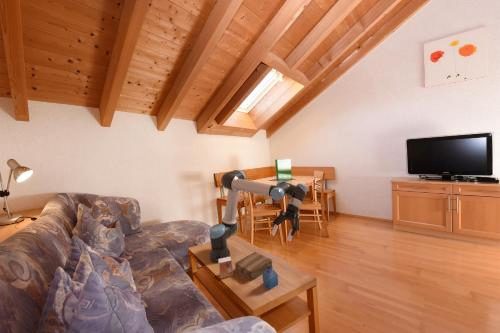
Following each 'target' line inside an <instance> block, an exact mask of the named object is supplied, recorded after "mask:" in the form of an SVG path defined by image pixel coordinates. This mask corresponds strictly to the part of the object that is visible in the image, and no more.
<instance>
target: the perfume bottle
mask: <svg viewBox="0 0 500 333" xmlns="http://www.w3.org/2000/svg"><path fill="white" fill-rule="evenodd" d="M266 266H267V267H266V269H267V270H265V271H264V273H263V274H262V282H263V283H262V284H263V286H265V287H266V288H267V289H269V290H270V291H271V290H272V289H274V288H276V287H277V286H279V277H278V276H279V275H278V273H277V272H276V271H275V270H274V269H273V263H272V264H267V265H266Z"/></svg>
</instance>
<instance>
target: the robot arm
mask: <svg viewBox="0 0 500 333" xmlns="http://www.w3.org/2000/svg"><path fill="white" fill-rule="evenodd" d="M220 183H221V186H222V187H223V188H224V189H227V195H226V196H227V197H226V203H225V208H224V209H225V210H224V211H225V212H224V217H222V218H221V223H219V224H215V225H213V226H211V227H210V228H209V239H210V241H209V242H210V247H211V250H210V254H209V260H210V261H211V262H213V263H218V259H221V258H226V257H229V256H230V257H231V251H230V249H229V246H228V241H227V240H228V239H229V238H231V237H233V235H235V234H236V233H237V232H238V229H239V224H238V220H237V219H236V216H237V210H238V202H239V196H240V191H242V192H246V193H250V194H255V195H258V196H259V195H260V196H264V197H269V198H271V199H272V200H274V201H280V200H282V199H283V198H284V197H285V196H286V195H287V196H289V197H290V200H289V202H288V204H287V207H286V209H285V210H286V211H284V210H282V211H280V213H279V215H277V217H276V218H275V219H274V220H273V221H272V223H273V227H272V230H271V232H270V235H272V236H273V237H275V235H276V232H277V230H278V229H279V225H280V224H282V223H283V222H285V221H290V225H291V228H290V230H289V233H288V235H287V237H286V240H287V241H288V242H291V241H292V239H293V237H294V235H295V233H296V232H299V231H300V218H301V215H299V214H298V213H299V211H300V209H301V206H302V204H303V201H304V200H305V197H306V195H307V192H308V187H307V185H305V184H303V183H297V185H295V184H292V183H289V182H286V181H283V180H280V179H279V181H278V182H277V183H276V185H272V184H268V183H264V182H258V181H253V180H248V179H246V175H245V173H244V171H243V170H240V169H234V170H232V171H231V170H230V171H228V172H225V173H223V175H222V176H221V179H220Z"/></svg>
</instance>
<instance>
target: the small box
mask: <svg viewBox="0 0 500 333" xmlns="http://www.w3.org/2000/svg"><path fill="white" fill-rule="evenodd" d="M217 263H218V271H219V277H220V279H224V278H225V279H226V278H229V277H233V276H234V272H233V262H232V258H231V255H230V256H229V257H226V258H221V259H218V262H217Z"/></svg>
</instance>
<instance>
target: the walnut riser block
mask: <svg viewBox="0 0 500 333" xmlns="http://www.w3.org/2000/svg"><path fill="white" fill-rule="evenodd" d="M272 260H273V259H271V258H270V257H267V256H265V255H263V254H260V253H258V252H256V251H254V252H252V253H250V254H248V255H247V256H245V257H243V258H241V259H239V260H237V261H236V262H234V265H235V272H237V273H239V274H240V275H243V277H246V278H247V279H248V280H250V281H254V280H256V279H257V278H259V277H261V276H263V273H264V271H265V270H267V269H266V267H267V266H266V265H267V264H272V265H273V261H272Z"/></svg>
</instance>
